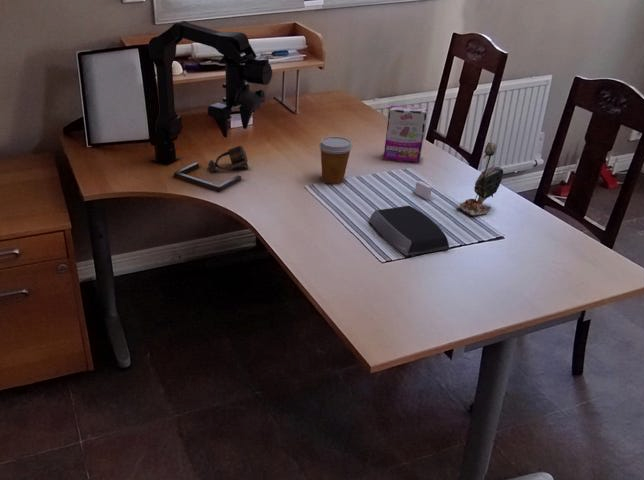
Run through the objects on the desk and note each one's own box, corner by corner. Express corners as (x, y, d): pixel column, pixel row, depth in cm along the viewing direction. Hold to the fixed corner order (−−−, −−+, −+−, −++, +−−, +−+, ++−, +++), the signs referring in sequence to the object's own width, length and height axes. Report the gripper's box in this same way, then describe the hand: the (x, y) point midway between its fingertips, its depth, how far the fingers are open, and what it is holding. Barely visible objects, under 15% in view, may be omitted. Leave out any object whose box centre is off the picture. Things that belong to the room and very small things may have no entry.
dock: (173, 177, 197) (173, 172, 196) (196, 166, 203) (195, 162, 202) (219, 192, 186) (219, 187, 185) (241, 180, 192) (241, 175, 192)
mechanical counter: (248, 159, 192) (252, 141, 199) (207, 154, 194) (212, 136, 201) (246, 178, 197) (250, 160, 204) (206, 173, 199) (212, 155, 206)
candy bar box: (420, 157, 202) (428, 107, 193) (419, 163, 198) (427, 112, 189) (384, 154, 206) (391, 104, 197) (382, 159, 202) (389, 109, 193)
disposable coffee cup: (354, 178, 190) (358, 140, 184) (337, 188, 185) (341, 150, 178) (327, 170, 196) (330, 133, 190) (310, 180, 190) (313, 142, 184)
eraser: (417, 192, 180) (419, 180, 178) (430, 198, 177) (432, 186, 175) (414, 193, 180) (416, 181, 178) (426, 199, 176) (428, 187, 174)
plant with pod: (504, 212, 168) (523, 140, 158) (468, 218, 166) (484, 146, 155) (484, 199, 175) (501, 130, 164) (449, 206, 172) (463, 135, 162)
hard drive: (402, 258, 150) (405, 243, 148) (366, 222, 166) (367, 208, 164) (451, 250, 153) (455, 235, 150) (411, 215, 169) (413, 201, 166)
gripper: (236, 93, 170) (236, 148, 178) (277, 77, 181) (275, 130, 189) (205, 85, 176) (206, 139, 185) (247, 71, 187) (246, 122, 196)
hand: (235, 132), depth 188 cm, fingers open, 9 cm apart
